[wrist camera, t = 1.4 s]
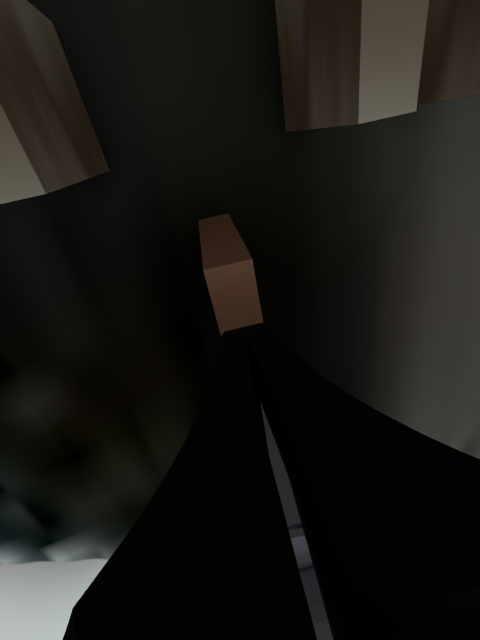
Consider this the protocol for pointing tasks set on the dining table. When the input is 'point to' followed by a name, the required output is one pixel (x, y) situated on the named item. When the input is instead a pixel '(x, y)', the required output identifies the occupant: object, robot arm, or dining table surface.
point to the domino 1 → (40, 110)
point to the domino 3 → (450, 51)
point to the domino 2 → (349, 60)
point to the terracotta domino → (229, 274)
